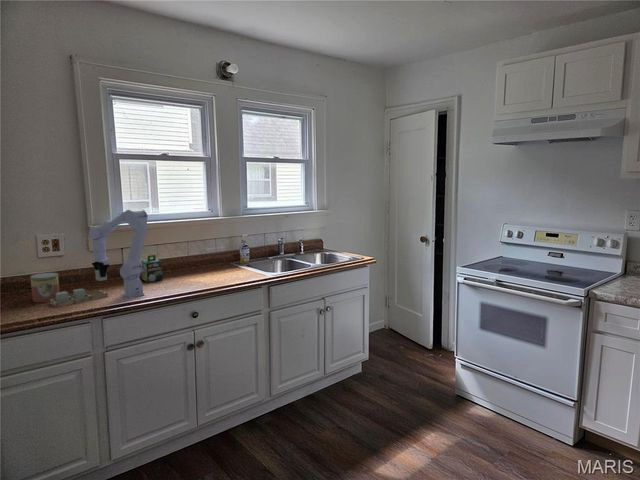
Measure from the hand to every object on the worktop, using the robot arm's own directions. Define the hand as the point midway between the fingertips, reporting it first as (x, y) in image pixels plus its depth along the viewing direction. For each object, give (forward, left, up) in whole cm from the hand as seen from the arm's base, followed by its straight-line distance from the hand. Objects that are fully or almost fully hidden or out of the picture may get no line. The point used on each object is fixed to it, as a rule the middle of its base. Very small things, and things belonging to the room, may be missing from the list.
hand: (101, 276), depth 215 cm
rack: (-9, +14, -8) cm, 18 cm away
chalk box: (+5, -30, -8) cm, 32 cm away
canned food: (+5, +24, -8) cm, 26 cm away
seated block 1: (-9, +21, -8) cm, 24 cm away
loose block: (0, 0, -2) cm, 2 cm away
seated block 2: (-9, +14, -8) cm, 18 cm away
